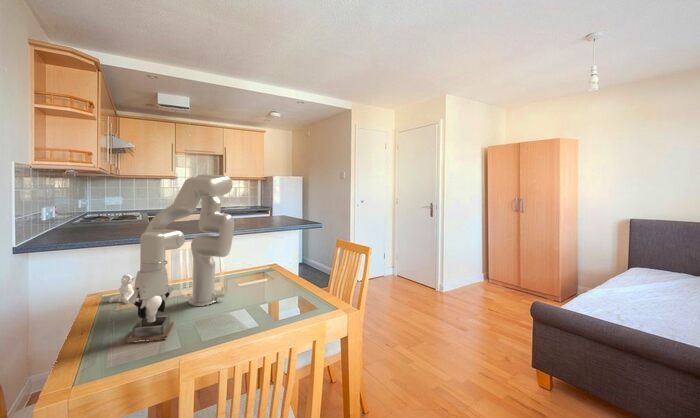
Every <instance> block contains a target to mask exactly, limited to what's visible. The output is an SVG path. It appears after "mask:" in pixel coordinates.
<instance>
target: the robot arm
mask: <svg viewBox="0 0 700 418" xmlns="http://www.w3.org/2000/svg"><path fill="white" fill-rule="evenodd" d="M232 189H233V181H232V178H231V177H230V176H228V175H222V174H221V175H220V174H209V173H208V174H205V173H204V174H198V175H196V176H192V177H188V178H187V179H185V181H184V182H183V184H182V185H181V188H180V189H179V192H178V194H177V195H176V197H175V199H174V201H173V202H172V204H170V205H169V206H167V207H166V208H164V209H163V210H161V211H159V212H158V213H157V214H156V215H154V216H153V218H152V219H151V220H150V221H149V223H148V225H147V227H146V229H145V231H144V232H142V234H141V236H140V243H139V244H140V245H139V246H140V253H139V255H140V257H139V259H140V261H139V262H140V263H139V264H140V265H139V270H138V271H137V272H136V275H135V279H134V289H133V290H134V294H133V295H132V296H131V297H130V298H129V300H128V301H129V302H130V303H131V304H133V306H135V307H137V316H138V318H139V319H140V318H142V319H145V318H146V317H147V314H146V308H145V307H144V306H145V303H146V301H147V299H150V298H153V297H155V296H161V297H162V303H161V305H160V307H159V308H158V310H157V312H159V313H165V309H166V302H167V300H168V299H169V296H170V295H171V293H172V292H173V291H174V287H172V286H171V285H169V277H168V276H169V275H168V272H167V268H166V265H168V261H167V260H166V258H165V257H166V251H168V250H170V251H171V250H173V251H174V250H177V249H179V248H181V247H182V246H184V244H185V241H186V235H185V234H184V232H183V231H180V230H178V229H169V228H166V227H167V226H168V225H169V224H171V223H173V222H176V221H177V220H180V219H181V220H182V219H184V218H187V217H189V216H190V217H191V216H192V215H193V214H194V213H195V211H196V209H197V206H198V204H199V202H200V200H201V208H200V213H199V217H198V218H199V219H198V229H199V230H200V231H201V232H204V233H212V234H219V235H209V234H200V235H196V236H194V238H193V239H192V240H191V243H190V250H191V253H192V254H191V255H192V295H191V296H192V297H190V298H189V299H188V305H190V306H194V307H203V306H205V305H206V306H210V305H209V304H211V305H213V304H212V303H214V302H216V301H217V300H218V301H219V298H225V293H223V292H222V291H220V292H217V289H216V261H215V259H214V258H213V257H215V258H224V257H227V256H228V255H230V252H231V249H232V242H233V238H234V237H233V236H234V231H235V219H234V217H233V216H232V215H231V214H230V213H225V212H224V213H223V212H222V213H221V211H222V210H221V208H222V201H221V199H220V197H221V196H224V195H227V194H229V193H230V192H231V190H232ZM136 299H138V300H136ZM218 301H217V302H218ZM217 302H216V303H217ZM214 304H215V303H214ZM206 306H205V307H206Z"/></svg>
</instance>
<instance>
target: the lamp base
mask: <svg viewBox="0 0 700 418" xmlns="http://www.w3.org/2000/svg"><path fill="white" fill-rule="evenodd" d="M170 317H171V316H170V315H158V316H156V321H154V322H153V323H149V322H147V316H146V318H145V319H142V318H140V317H139V319H138V321H137V322H136V323H135V325H134V326H133V327H132V329H131V333H130V335H129V336H128V337H127V339H126V344H129V343H128V342H134V341H139V340H145V341H146V340H149V342H154V341H153V340H159V341H161V340H160V339H165V338H167V337H169V336H170V334H171V332H172V330H173V327H174V325H175V322H174V321H170V319H171V318H170ZM167 339H168V338H167Z"/></svg>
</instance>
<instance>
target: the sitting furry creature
mask: <svg viewBox="0 0 700 418" xmlns="http://www.w3.org/2000/svg"><path fill="white" fill-rule="evenodd" d="M135 279H136V276H133V275H132V274H123V276H122V278H121V285H120V286H119V288H118V290H119V294H116V295H112V296H111V297H110V298H108V302H109V303H112V304H113V303H124V304H125V305H128V304H130V303H131V302H129V301H128V300H129V298H130V297H131V296H132V295H133V294H134V289H133V285H132V283H133V281H135Z"/></svg>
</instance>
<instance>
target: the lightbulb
mask: <svg viewBox="0 0 700 418" xmlns="http://www.w3.org/2000/svg"><path fill="white" fill-rule="evenodd" d="M161 303H162V297H161V296H155V297H153V298H150V299H147V301H146V303H145V306H144V307H145V308H146V317H147V322H149V323H153V322H154V321H156V315H157V313H158V308H159V307H160V305H161Z"/></svg>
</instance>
